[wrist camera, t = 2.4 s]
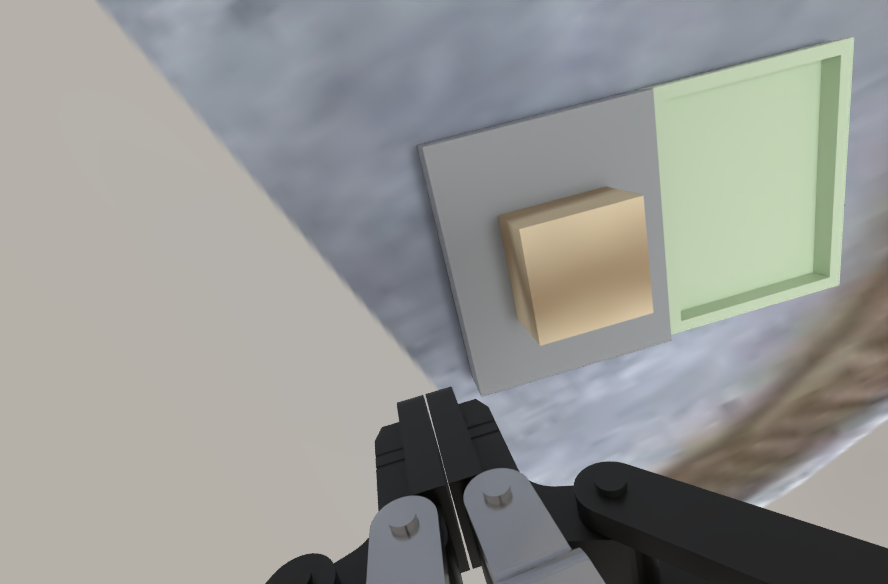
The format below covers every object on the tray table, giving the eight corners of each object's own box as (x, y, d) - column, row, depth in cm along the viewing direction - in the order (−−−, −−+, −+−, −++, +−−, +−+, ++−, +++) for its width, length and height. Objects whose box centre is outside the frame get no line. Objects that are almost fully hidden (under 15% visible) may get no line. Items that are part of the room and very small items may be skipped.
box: (634, 90, 23) (653, 87, 21) (824, 42, 23) (854, 36, 22) (654, 323, 27) (671, 334, 25) (814, 276, 27) (839, 284, 26)
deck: (416, 145, 22) (422, 147, 20) (628, 91, 22) (653, 88, 21) (472, 377, 26) (481, 396, 24) (649, 325, 27) (671, 340, 25)
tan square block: (497, 215, 21) (519, 229, 18) (606, 186, 22) (643, 195, 19) (517, 318, 23) (540, 346, 20) (617, 290, 23) (653, 312, 21)
